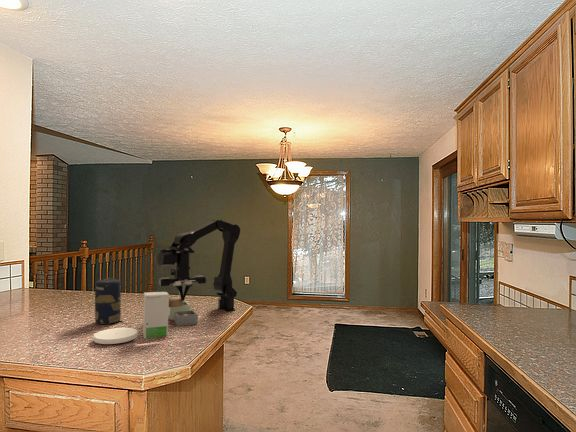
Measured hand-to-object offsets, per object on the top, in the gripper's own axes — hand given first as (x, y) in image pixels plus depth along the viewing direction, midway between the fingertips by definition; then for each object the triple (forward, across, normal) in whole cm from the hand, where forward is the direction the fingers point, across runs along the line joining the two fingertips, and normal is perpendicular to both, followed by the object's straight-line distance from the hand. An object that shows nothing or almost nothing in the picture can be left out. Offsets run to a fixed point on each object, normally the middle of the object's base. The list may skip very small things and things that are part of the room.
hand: (182, 300), depth 169 cm
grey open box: (+7, +1, +11) cm, 13 cm away
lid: (+1, +5, 0) cm, 6 cm away
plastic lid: (+8, +27, +21) cm, 35 cm away
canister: (+7, +29, -5) cm, 30 cm away
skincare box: (+8, +14, +23) cm, 28 cm away
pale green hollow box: (+7, +2, 0) cm, 7 cm away
